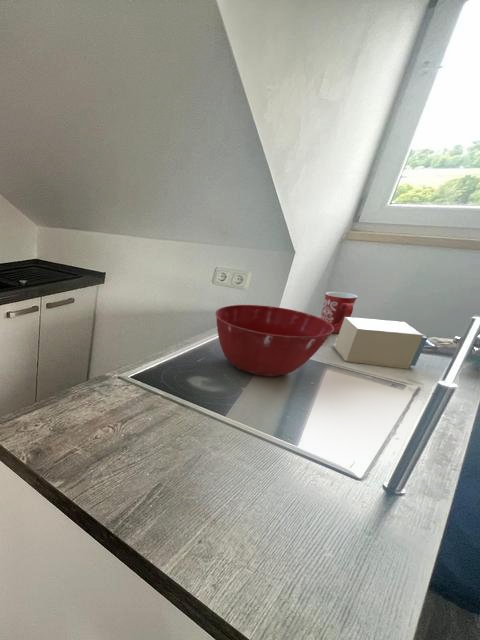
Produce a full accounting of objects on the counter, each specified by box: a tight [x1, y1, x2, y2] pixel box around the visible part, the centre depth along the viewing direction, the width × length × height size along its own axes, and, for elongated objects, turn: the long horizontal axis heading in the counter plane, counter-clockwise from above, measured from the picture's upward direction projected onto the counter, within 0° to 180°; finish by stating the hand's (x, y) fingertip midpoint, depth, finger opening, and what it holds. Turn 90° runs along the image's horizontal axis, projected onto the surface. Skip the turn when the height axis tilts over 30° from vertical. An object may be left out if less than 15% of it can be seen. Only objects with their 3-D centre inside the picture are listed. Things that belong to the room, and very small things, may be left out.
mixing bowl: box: [214, 304, 334, 377], centre depth 114 cm, size 28×28×15 cm
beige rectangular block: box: [334, 316, 424, 370], centre depth 119 cm, size 15×13×11 cm
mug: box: [319, 291, 359, 334], centre depth 140 cm, size 13×9×14 cm
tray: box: [409, 334, 439, 367], centre depth 118 cm, size 18×11×9 cm, turn 65°
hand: (463, 345), depth 111 cm, fingers open, 8 cm apart
